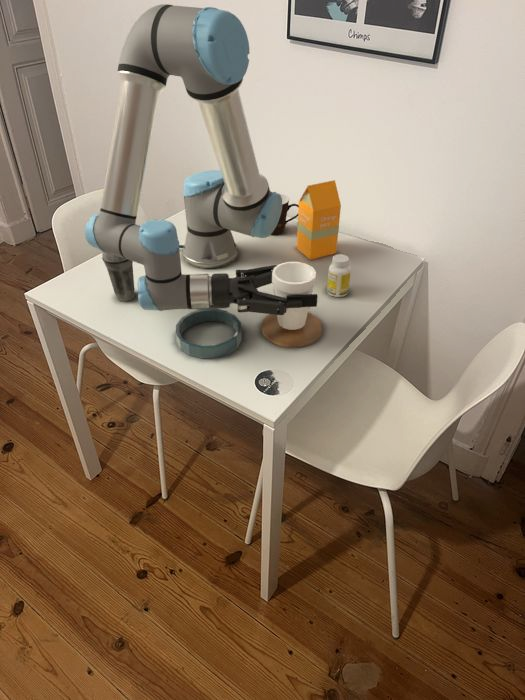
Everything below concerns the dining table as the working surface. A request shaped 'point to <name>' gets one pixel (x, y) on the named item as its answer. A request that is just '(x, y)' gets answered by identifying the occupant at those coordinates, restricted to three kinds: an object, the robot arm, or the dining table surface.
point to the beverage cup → (120, 276)
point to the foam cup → (293, 290)
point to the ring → (210, 350)
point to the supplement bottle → (338, 276)
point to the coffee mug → (283, 216)
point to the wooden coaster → (291, 332)
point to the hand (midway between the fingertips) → (313, 287)
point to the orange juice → (318, 220)
